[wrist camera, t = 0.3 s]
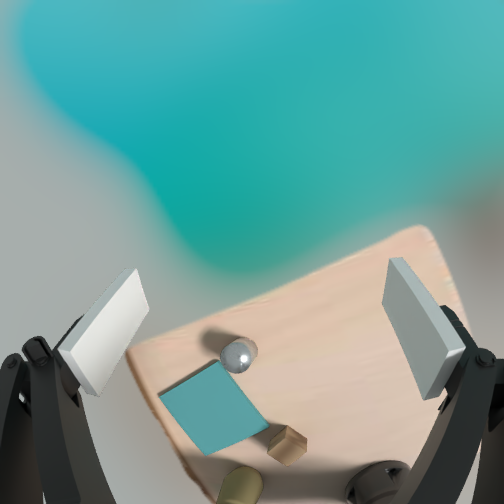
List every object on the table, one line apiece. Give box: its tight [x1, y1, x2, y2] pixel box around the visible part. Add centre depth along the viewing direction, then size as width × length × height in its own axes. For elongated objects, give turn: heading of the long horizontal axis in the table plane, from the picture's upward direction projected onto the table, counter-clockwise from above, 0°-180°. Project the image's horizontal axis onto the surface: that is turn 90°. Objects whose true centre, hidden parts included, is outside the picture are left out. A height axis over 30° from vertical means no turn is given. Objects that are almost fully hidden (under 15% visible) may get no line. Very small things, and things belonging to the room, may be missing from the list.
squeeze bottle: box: [216, 466, 263, 504], centre depth 36 cm, size 8×8×18 cm
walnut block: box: [267, 425, 307, 467], centre depth 42 cm, size 5×5×5 cm
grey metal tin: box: [220, 337, 258, 373], centre depth 45 cm, size 5×5×6 cm
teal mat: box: [159, 361, 269, 456], centre depth 47 cm, size 16×16×1 cm
